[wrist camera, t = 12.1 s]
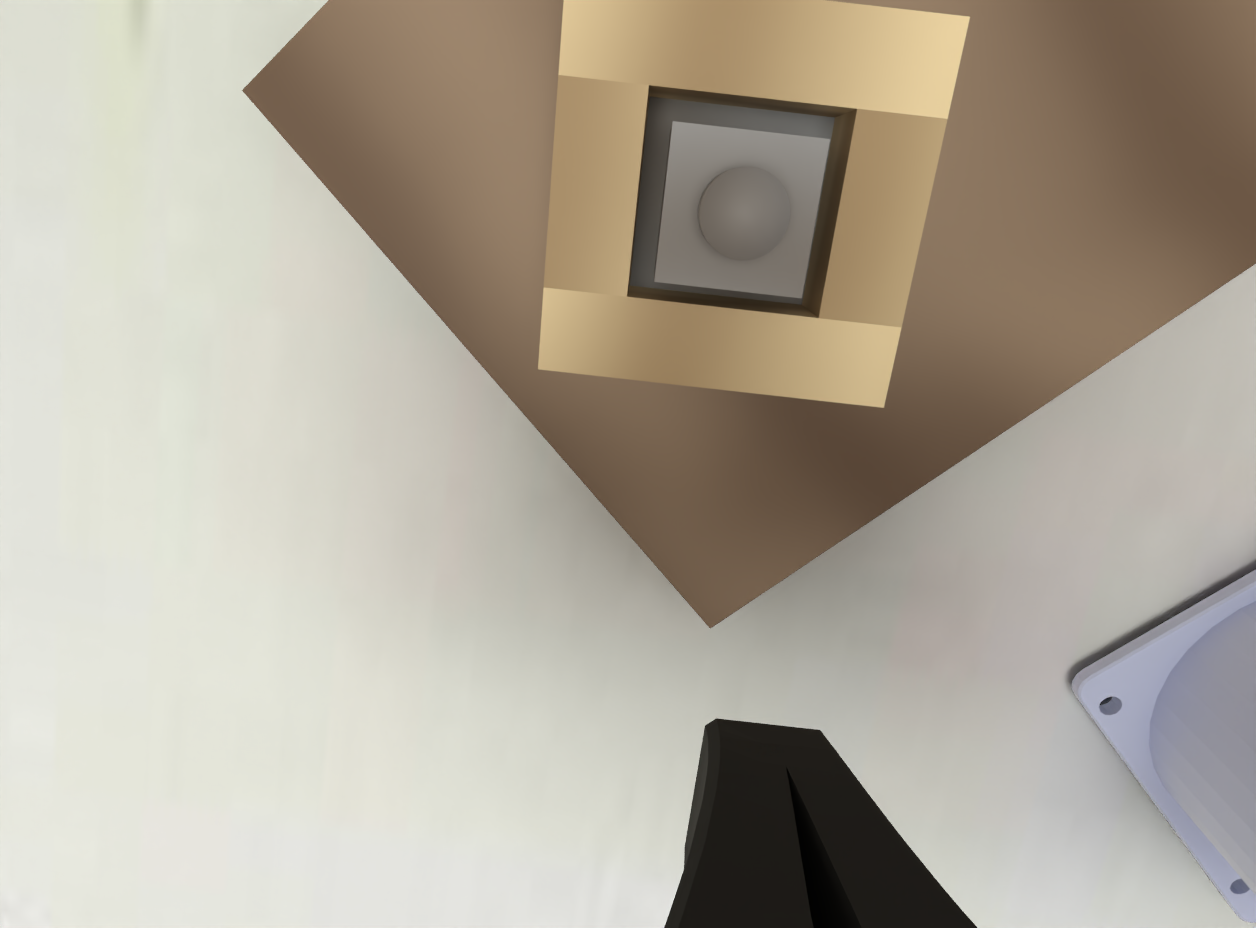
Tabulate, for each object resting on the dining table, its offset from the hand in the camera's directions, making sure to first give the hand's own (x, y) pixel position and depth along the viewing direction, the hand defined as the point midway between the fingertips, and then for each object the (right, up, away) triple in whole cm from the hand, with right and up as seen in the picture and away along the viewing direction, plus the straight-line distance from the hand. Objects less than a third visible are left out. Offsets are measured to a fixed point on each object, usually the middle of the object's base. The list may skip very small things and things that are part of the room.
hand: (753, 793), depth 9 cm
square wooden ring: (0, +8, +4) cm, 9 cm away
